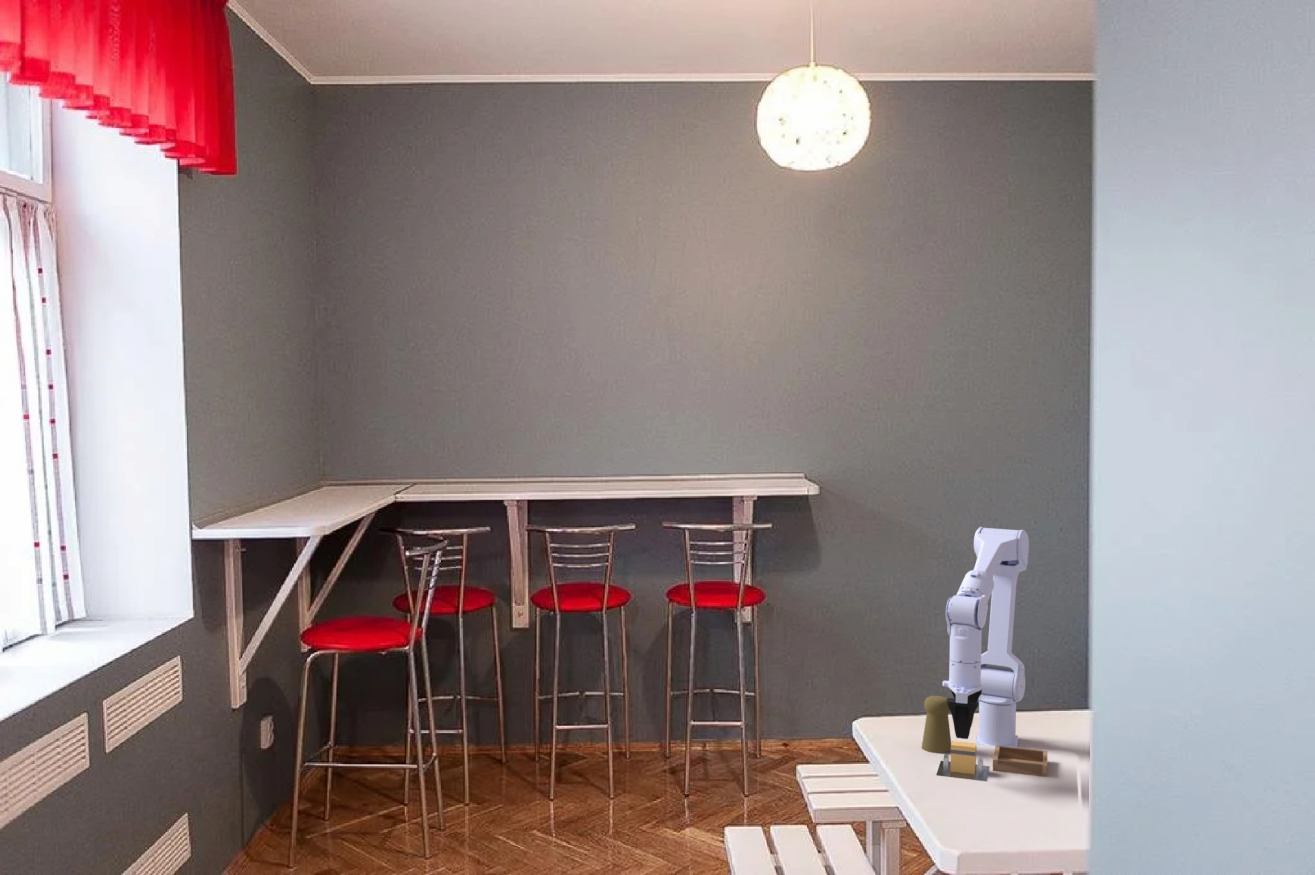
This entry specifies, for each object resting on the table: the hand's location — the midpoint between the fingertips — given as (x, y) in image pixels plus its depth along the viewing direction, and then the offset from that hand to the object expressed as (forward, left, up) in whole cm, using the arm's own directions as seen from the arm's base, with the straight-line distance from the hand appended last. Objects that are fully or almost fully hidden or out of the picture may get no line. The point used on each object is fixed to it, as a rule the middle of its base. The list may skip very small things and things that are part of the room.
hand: (963, 732), depth 207 cm
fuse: (0, 0, -7) cm, 7 cm away
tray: (-7, +10, -8) cm, 15 cm away
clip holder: (0, 0, -8) cm, 8 cm away
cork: (-12, -6, -8) cm, 16 cm away
